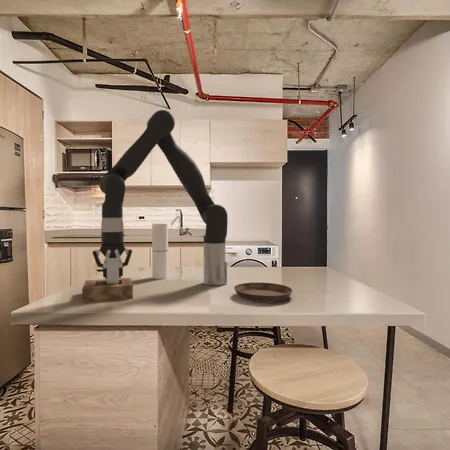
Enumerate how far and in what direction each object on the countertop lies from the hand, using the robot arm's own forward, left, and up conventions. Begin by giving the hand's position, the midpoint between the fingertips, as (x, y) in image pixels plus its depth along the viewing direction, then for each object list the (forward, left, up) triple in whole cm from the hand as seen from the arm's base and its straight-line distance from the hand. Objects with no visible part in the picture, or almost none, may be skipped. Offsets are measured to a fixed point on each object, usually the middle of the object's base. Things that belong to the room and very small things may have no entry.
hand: (113, 277), depth 114 cm
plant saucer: (-50, +19, -7) cm, 54 cm away
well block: (+2, 0, -6) cm, 6 cm away
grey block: (+1, 0, -4) cm, 5 cm away
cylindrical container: (-20, -27, -6) cm, 34 cm away
